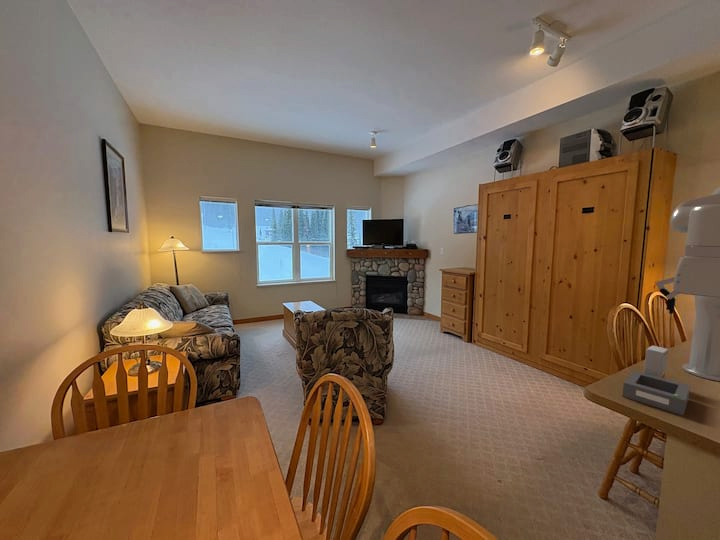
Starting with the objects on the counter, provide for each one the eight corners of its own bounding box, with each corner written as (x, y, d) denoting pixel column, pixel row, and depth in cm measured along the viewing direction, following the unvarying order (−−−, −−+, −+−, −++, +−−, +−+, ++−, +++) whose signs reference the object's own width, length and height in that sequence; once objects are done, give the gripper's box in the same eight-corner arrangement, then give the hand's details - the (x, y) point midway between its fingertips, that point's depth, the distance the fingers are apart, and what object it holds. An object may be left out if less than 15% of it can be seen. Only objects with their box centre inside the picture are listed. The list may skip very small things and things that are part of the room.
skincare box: (659, 388, 99) (663, 352, 98) (641, 383, 103) (645, 348, 101) (664, 383, 103) (669, 348, 101) (647, 378, 106) (651, 344, 105)
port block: (631, 383, 103) (633, 369, 102) (688, 399, 93) (690, 384, 92) (622, 396, 95) (623, 381, 94) (683, 416, 85) (685, 399, 84)
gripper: (758, 253, 76) (747, 320, 79) (661, 250, 90) (654, 308, 92) (760, 255, 72) (748, 326, 74) (657, 251, 85) (650, 312, 87)
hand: (696, 316), depth 83 cm, fingers open, 9 cm apart
